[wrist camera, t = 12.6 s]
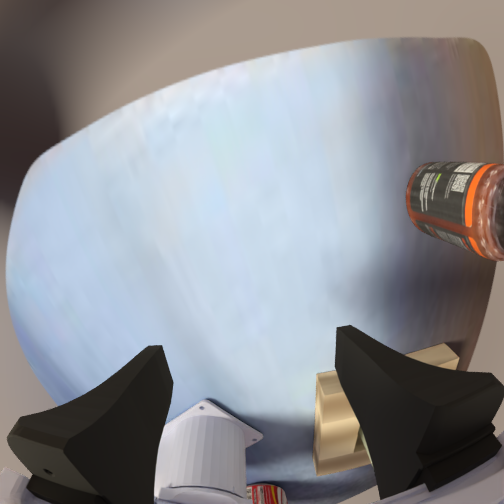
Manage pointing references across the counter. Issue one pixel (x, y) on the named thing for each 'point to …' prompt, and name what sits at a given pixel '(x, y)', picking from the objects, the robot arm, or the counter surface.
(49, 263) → the counter surface
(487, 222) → the supplement bottle
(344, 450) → the well block
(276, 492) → the soda can
